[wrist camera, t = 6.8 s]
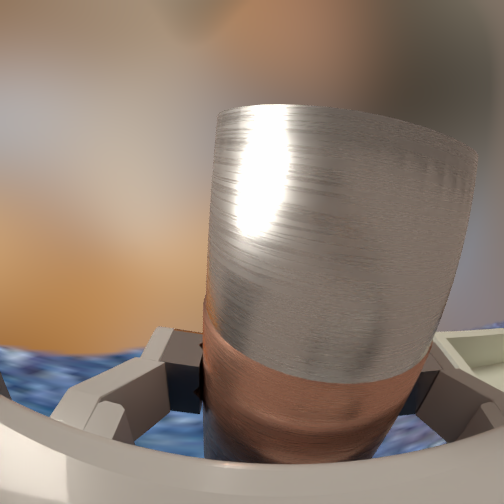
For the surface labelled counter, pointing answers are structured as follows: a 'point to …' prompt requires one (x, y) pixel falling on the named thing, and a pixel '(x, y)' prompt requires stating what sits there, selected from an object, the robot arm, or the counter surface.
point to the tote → (476, 353)
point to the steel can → (324, 277)
